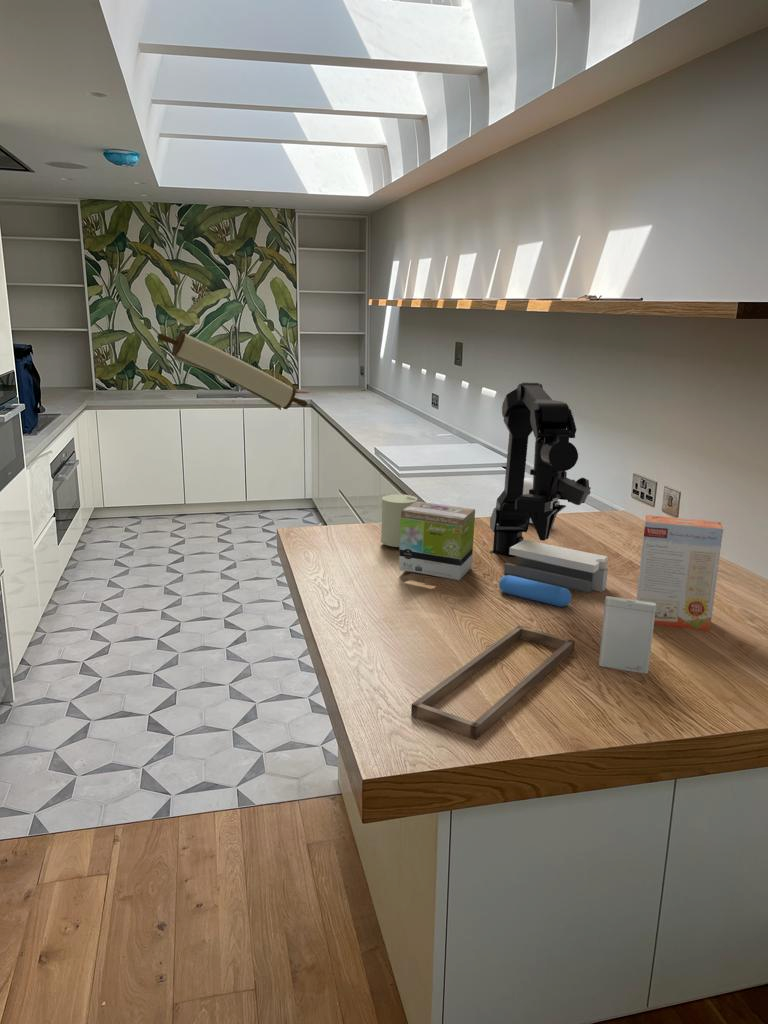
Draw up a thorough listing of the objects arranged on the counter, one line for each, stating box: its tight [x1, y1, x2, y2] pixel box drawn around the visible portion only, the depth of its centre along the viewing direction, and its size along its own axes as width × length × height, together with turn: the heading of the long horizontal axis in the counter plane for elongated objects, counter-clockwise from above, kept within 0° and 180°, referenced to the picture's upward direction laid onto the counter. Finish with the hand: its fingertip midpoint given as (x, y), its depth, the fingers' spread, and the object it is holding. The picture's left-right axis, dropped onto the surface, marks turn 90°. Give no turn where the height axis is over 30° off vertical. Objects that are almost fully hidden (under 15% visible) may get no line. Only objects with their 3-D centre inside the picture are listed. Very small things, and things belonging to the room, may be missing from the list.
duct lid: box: [509, 539, 608, 573], centre depth 176 cm, size 21×8×2 cm, turn 55°
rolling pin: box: [156, 330, 308, 411], centre depth 154 cm, size 32×6×5 cm
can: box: [380, 493, 418, 548], centre depth 202 cm, size 9×9×12 cm
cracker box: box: [635, 514, 724, 631], centre depth 153 cm, size 14×6×21 cm, turn 71°
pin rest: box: [410, 625, 576, 740], centre depth 130 cm, size 11×37×2 cm, turn 145°
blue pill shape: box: [498, 574, 572, 608], centre depth 166 cm, size 16×4×4 cm, turn 55°
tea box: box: [398, 500, 476, 582], centre depth 181 cm, size 15×10×15 cm, turn 68°
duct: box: [503, 556, 609, 594], centre depth 177 cm, size 22×8×5 cm, turn 55°
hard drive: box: [598, 595, 656, 674], centre depth 134 cm, size 2×8×12 cm, turn 69°
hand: (544, 539), depth 163 cm, fingers closed
